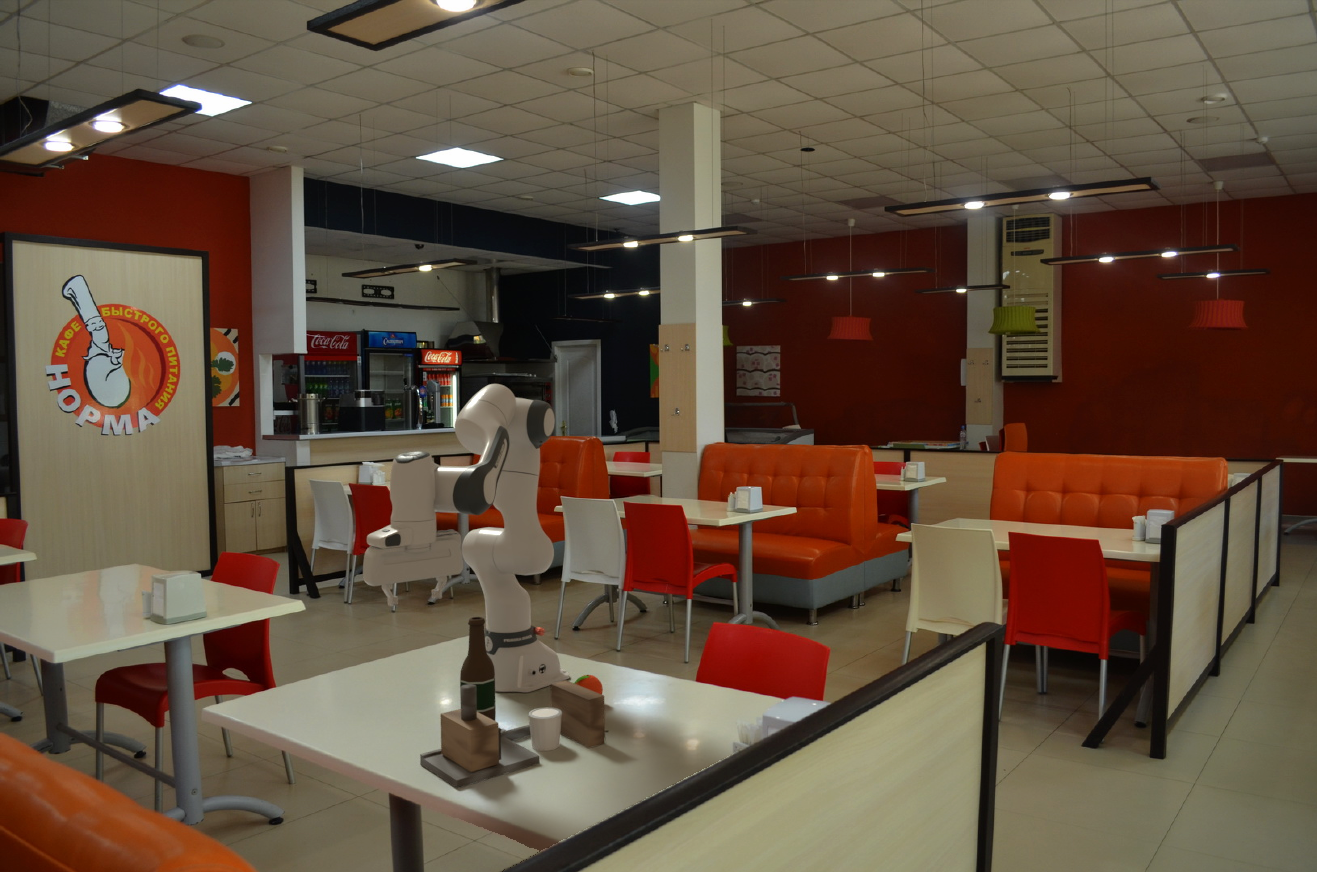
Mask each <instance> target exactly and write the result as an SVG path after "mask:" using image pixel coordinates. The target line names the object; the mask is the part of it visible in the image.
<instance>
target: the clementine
mask: <svg viewBox="0 0 1317 872" xmlns="http://www.w3.org/2000/svg"><path fill="white" fill-rule="evenodd" d="M573 683H574V684H577V685H579V686H582V687H584V688H587V689H589V690H592V691H594V692H596V693H599V694H601V695H603V690H604V689H603V688H604V687H603V684H602V682H601V681H600V679H599V678H598V677H596V676H595V675H593V674H583V675H581V676H580V677H578V678H577V679H576V680H575V682H573Z"/></svg>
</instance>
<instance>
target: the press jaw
mask: <svg viewBox="0 0 1317 872" xmlns="http://www.w3.org/2000/svg"><path fill="white" fill-rule="evenodd" d="M460 688H461V698H460V708H459V709H454V710H451V711H446V712H442V713H440V749H441V754H443V755H444V756H446V757H447V758H449V759H451V760H452V761H454V762H456V763H457V764H459V765H460V766H462V767H464V768H465V769H467V770H468V771H470V772H473V771H476V770H480V769H483V768H487V767H490V766H493V765H497V764H499V760H501V732H502V729H501V728H500V727H499V722H497V721H496V720H495V721H494V720H492V719H490V718H488V717H486V716H484V715H482V714H480V713H478V712H477V699H476V685H473V684H467V685H463V686H461V687H460V686H459V689H460Z"/></svg>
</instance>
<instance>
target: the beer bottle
mask: <svg viewBox="0 0 1317 872" xmlns="http://www.w3.org/2000/svg"><path fill="white" fill-rule="evenodd" d="M467 624H468V625H469V630H468V631H469V632H468V633H469V634H468V650H467V655H466V657H465V659H464V661H463V663H462V666H461V668H460V677H459V683H460V684H459V685H460V686H459V689H460V691H459V692H460V693H459V694H460V697H459V698H460V699H461V688H460V687H461V686H463V685H467V684H473V685H476V699H477V712H478V713H480V714H482V715H484V716H486V717H488V718H490V719H492V720H494V721H496V717H497V715H496V691H495V670H494V665H493V662H492V660H491V658H490V657H489V656H488V654H487V651H486V645H485V625H486V618H485V617H482V616H473V617H470V618H469V619H468V623H467Z"/></svg>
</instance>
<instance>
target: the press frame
mask: <svg viewBox="0 0 1317 872" xmlns="http://www.w3.org/2000/svg"><path fill="white" fill-rule="evenodd" d="M574 683H575V682H571V681H569V680H568V679H566V680H563V681H560V682H557V683H553V684H551V685H550V708H557V709H559V710H561V712H562V718H561V731H560V736H561V735H562V736H564V737H566V738H568V739H570V740H571V741H574V742H575V743H578V744H580V745H583V746H584V747H586V748H594V747H597V746H601V745H604V744H605V743H606V738H605V737H606V731H605V729H606V728H605V720H606V719H605V718H606V717H605V695H604V694H602V695H601V694H599V693H596V692H594V691H592V690H589V689H587V688H584V687H582V686H579V685H577V684H574ZM527 737H531V733H530V723H529V724H526V725H522V726H519V727H514V728H512V729H508V730H505V731H501V760H499V764H497V765H493V766H490V767H487V768H483V769H480V770H476V771H473V772H470V771H468V770H467V769H465V768H464V767H462V766H460V765H459V764H457V763H456V762H454V761H452V760H451V759H449V758H447V757H446V756H444V755H443V754H441V748H439V749H434V750H431V751H427V752H424V753H421V754H419V755H420V756H419V757H420V758H419V759H420V760H419V761H420V765H421V766H423V767H424V768H426V769H427V770H429V771H430V772H431V773H433V774H434V775H436V776H437V777H439V778H440V779H442V780H443V781H445V782H446V783H448V784H450V785H451V786H452V787H454V788H456V789H459V788H462V787H467V786H470V785H472V784H476V783H479V782H482V781H485V780H489V779H492V778H496V777H499V776H502V775H505V774H509V773H512V772H515V771H518V770H521V769H524V768H527V767H532V766H534V765H538V764H540V755H539V754H537V753H535V752H534V751H531V750H529V749H528V748H526V747H524V746H523V745H520V744H518V743H517V742H515V740H519V739H522V738H523V739H524V738H527Z"/></svg>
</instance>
